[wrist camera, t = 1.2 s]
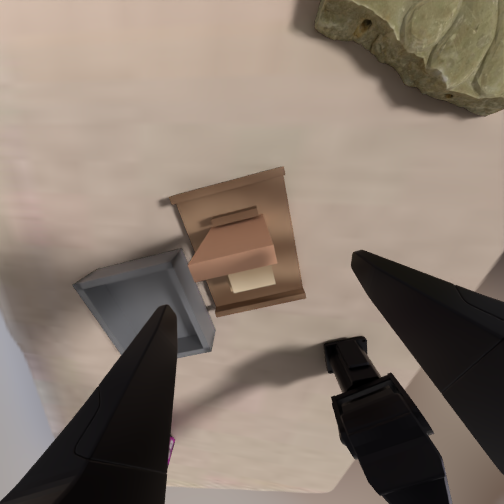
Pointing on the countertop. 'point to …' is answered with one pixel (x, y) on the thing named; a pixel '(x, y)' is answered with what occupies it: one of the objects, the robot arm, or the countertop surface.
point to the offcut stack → (251, 279)
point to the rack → (238, 208)
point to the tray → (148, 300)
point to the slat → (233, 249)
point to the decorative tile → (429, 44)
